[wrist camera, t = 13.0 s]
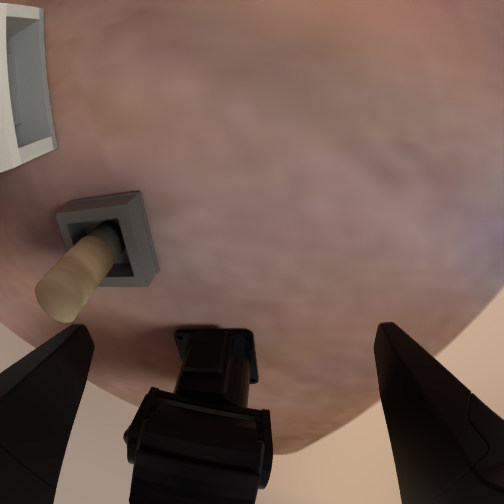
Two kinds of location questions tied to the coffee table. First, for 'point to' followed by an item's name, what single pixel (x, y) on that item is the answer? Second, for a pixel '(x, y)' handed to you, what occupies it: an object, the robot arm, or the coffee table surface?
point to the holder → (132, 227)
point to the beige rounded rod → (80, 272)
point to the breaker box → (23, 87)
